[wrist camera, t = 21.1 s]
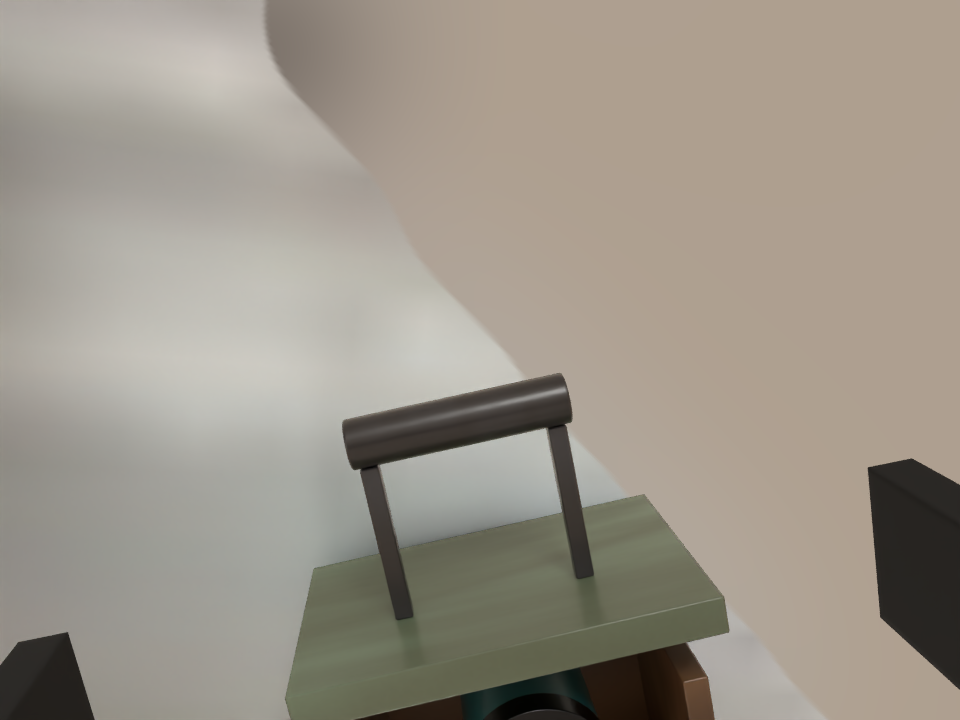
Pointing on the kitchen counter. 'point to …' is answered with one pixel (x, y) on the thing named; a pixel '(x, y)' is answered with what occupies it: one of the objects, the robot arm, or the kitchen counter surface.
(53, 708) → the robot arm
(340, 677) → the drawer
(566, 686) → the tin
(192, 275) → the kitchen counter surface
